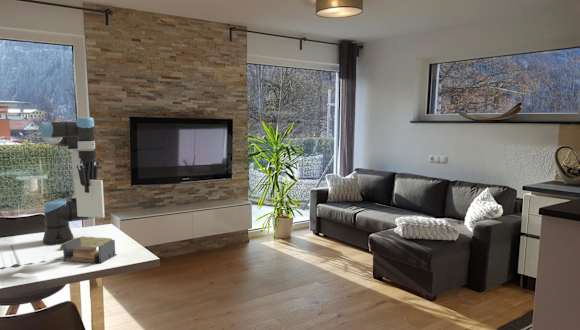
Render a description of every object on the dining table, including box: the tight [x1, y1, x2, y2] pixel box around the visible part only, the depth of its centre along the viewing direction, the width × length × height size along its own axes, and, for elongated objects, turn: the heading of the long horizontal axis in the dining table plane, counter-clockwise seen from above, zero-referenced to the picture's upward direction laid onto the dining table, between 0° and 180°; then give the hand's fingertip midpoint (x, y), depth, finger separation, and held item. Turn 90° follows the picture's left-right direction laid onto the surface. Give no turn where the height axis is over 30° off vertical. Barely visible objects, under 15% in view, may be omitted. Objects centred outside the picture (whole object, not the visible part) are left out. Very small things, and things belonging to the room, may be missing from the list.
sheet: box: [75, 179, 106, 219], centre depth 205 cm, size 1×14×18 cm, turn 78°
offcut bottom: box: [71, 256, 99, 263], centre depth 203 cm, size 5×12×2 cm, turn 78°
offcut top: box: [73, 246, 97, 254], centre depth 202 cm, size 4×9×2 cm, turn 78°
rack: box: [62, 237, 119, 265], centre depth 205 cm, size 14×20×10 cm
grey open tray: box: [59, 236, 113, 251], centre depth 229 cm, size 19×20×4 cm
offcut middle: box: [73, 251, 99, 258], centre depth 202 cm, size 5×11×2 cm, turn 79°
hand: (89, 198), depth 205 cm, fingers closed on sheet
